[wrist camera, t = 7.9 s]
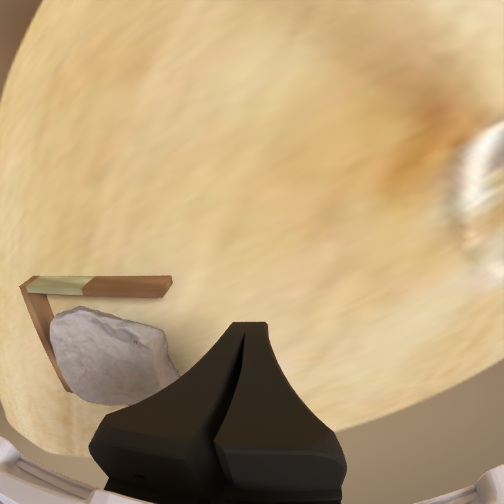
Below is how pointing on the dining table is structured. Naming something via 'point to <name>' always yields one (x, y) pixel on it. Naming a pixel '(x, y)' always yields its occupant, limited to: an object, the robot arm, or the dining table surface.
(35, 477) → the robot arm
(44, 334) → the guide slot
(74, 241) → the dining table surface
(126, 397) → the stone block
